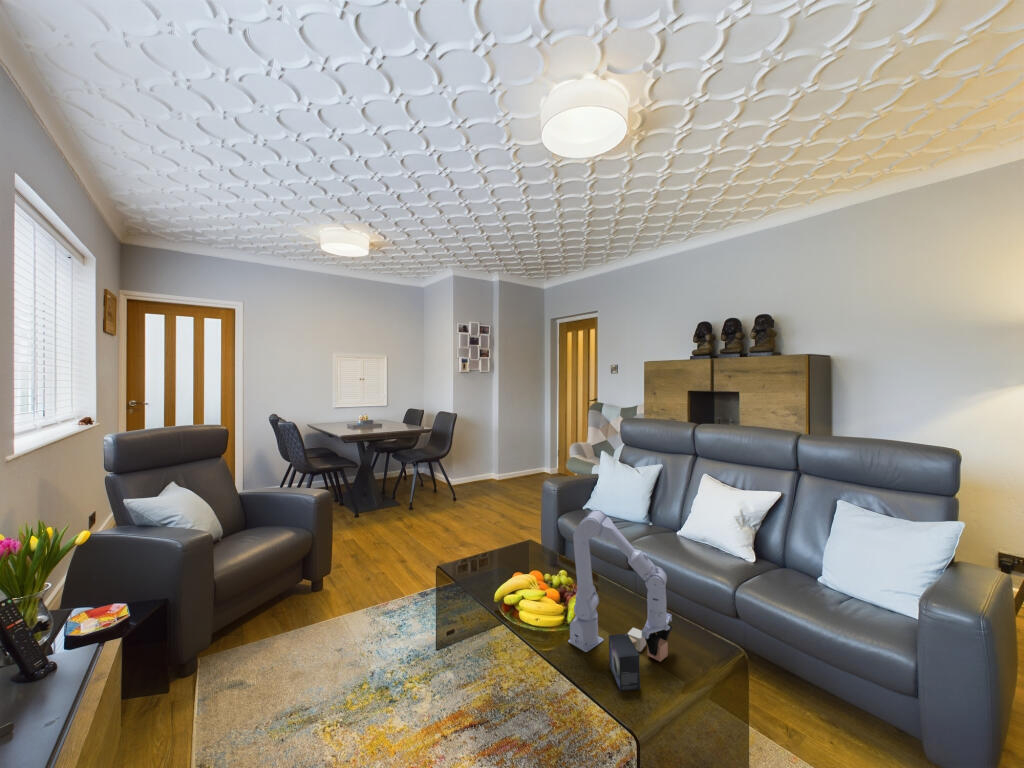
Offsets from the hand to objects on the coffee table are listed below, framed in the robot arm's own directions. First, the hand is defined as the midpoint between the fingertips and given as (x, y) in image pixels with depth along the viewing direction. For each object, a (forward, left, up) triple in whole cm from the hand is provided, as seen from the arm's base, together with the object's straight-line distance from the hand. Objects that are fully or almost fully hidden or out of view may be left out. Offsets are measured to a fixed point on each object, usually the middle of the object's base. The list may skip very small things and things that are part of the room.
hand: (657, 650), depth 142 cm
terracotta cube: (0, 0, -1) cm, 1 cm away
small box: (-15, +2, -3) cm, 16 cm away
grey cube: (+1, +8, -2) cm, 8 cm away
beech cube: (-5, +8, -2) cm, 10 cm away
